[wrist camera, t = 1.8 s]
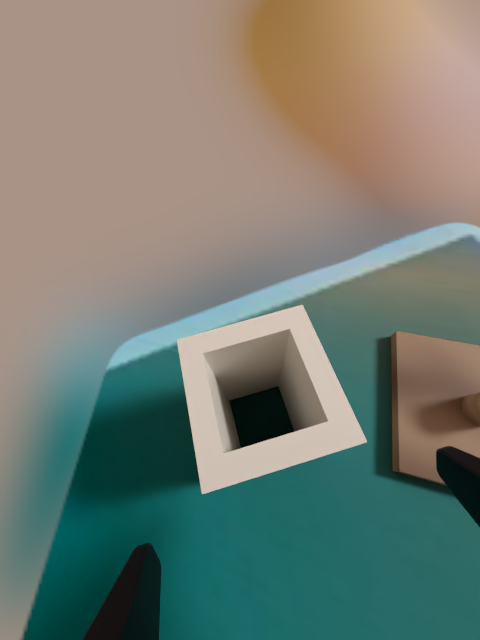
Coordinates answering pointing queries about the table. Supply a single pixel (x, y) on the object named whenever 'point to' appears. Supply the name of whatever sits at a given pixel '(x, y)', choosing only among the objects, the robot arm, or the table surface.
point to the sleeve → (258, 375)
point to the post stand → (433, 401)
